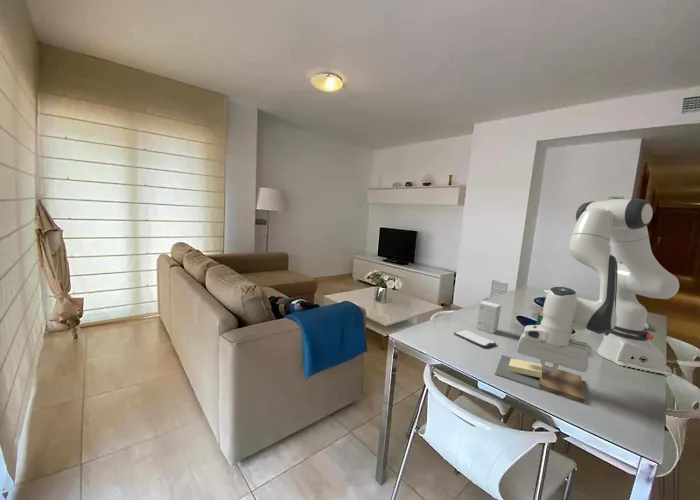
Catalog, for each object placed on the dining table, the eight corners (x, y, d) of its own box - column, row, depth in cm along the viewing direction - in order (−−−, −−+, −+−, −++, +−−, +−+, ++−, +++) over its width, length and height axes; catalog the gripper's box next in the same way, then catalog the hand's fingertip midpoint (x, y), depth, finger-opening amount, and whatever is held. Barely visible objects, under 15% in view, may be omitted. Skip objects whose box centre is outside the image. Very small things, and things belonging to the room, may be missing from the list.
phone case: (452, 335, 139) (484, 350, 126) (452, 332, 139) (484, 346, 125) (464, 332, 144) (496, 346, 130) (465, 329, 144) (497, 342, 130)
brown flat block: (580, 379, 107) (581, 375, 107) (584, 403, 93) (585, 399, 92) (540, 367, 113) (540, 364, 113) (538, 388, 99) (539, 384, 99)
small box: (497, 330, 147) (501, 304, 145) (492, 334, 143) (497, 307, 141) (480, 325, 153) (484, 300, 151) (475, 328, 148) (479, 302, 146)
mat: (543, 368, 113) (543, 367, 113) (542, 390, 98) (542, 389, 98) (501, 355, 121) (502, 354, 121) (494, 374, 106) (495, 373, 106)
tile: (542, 369, 109) (542, 364, 108) (541, 378, 103) (542, 372, 103) (510, 363, 114) (510, 358, 114) (508, 370, 108) (508, 365, 108)
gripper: (592, 341, 100) (584, 380, 102) (521, 324, 111) (515, 360, 113) (594, 348, 95) (585, 389, 97) (519, 329, 106) (513, 366, 107)
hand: (547, 373), depth 105 cm, fingers closed
